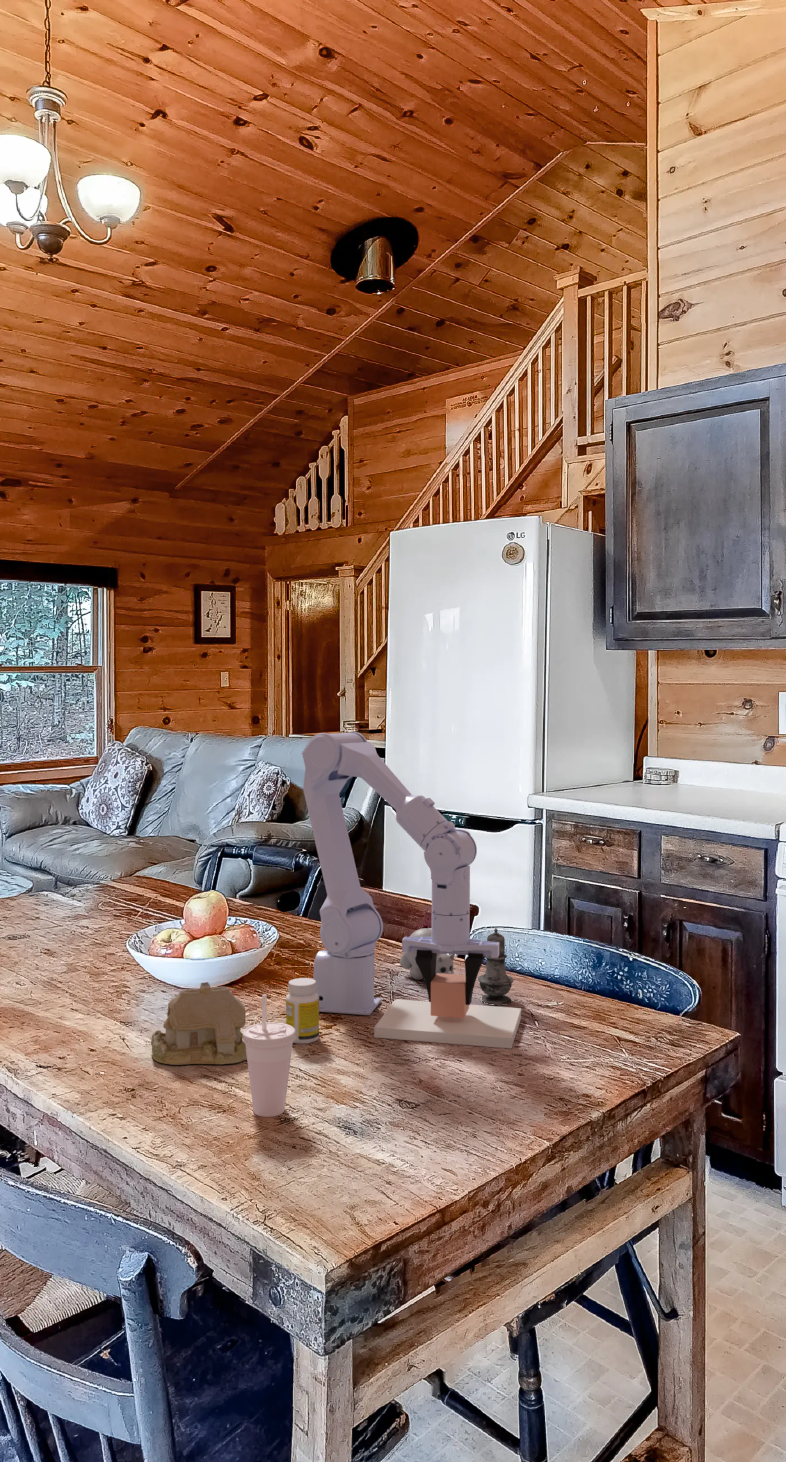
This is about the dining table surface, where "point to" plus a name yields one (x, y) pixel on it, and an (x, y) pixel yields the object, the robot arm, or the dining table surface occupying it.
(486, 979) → the salt shaker
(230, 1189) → the dining table surface
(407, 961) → the round bodied animal figurine
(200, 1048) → the ceramic model
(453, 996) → the cube
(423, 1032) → the tray
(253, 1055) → the smoothie
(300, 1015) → the supplement bottle
